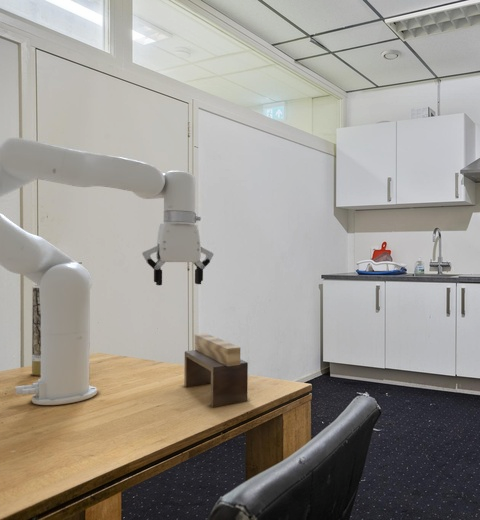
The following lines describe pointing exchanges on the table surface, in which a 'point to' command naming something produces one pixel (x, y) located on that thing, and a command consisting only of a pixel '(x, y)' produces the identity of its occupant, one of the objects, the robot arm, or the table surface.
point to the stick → (217, 349)
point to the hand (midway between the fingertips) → (178, 284)
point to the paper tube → (36, 332)
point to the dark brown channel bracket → (217, 378)
